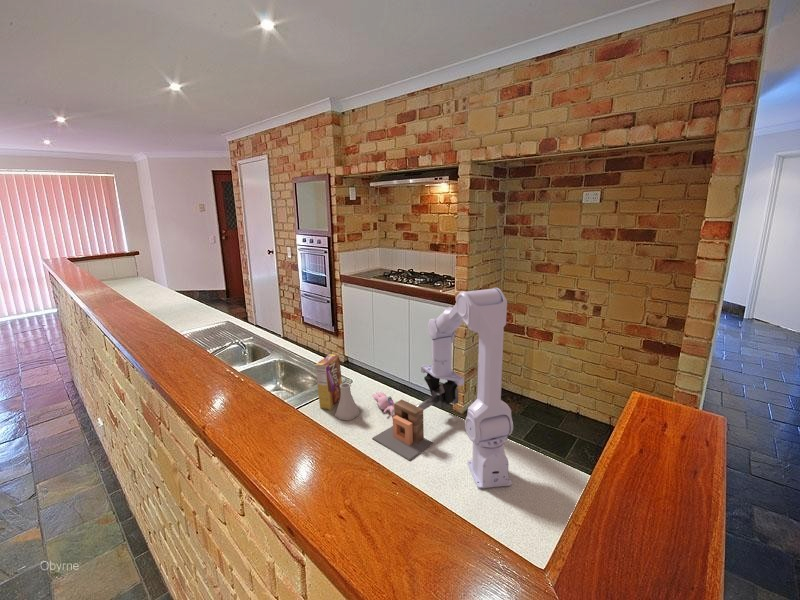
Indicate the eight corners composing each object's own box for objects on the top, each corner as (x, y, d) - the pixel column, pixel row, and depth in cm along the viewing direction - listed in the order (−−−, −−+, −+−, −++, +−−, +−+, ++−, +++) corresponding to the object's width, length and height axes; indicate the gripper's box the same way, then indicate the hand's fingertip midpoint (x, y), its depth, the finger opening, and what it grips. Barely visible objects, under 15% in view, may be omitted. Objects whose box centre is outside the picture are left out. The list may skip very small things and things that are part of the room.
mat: (409, 460, 98) (409, 459, 98) (372, 439, 108) (372, 437, 108) (433, 444, 105) (433, 442, 105) (396, 424, 115) (396, 423, 115)
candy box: (332, 395, 134) (329, 353, 130) (343, 397, 132) (340, 354, 129) (318, 408, 126) (314, 363, 122) (330, 410, 124) (326, 365, 120)
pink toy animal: (408, 419, 120) (381, 394, 131) (410, 403, 118) (382, 379, 129) (392, 427, 116) (365, 400, 127) (393, 410, 114) (366, 385, 125)
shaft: (418, 427, 105) (417, 412, 104) (399, 418, 110) (399, 403, 109) (458, 402, 117) (458, 388, 116) (440, 395, 122) (439, 381, 121)
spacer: (409, 445, 104) (408, 425, 103) (393, 436, 108) (392, 417, 107) (412, 443, 105) (412, 423, 104) (397, 434, 109) (396, 415, 108)
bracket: (416, 444, 105) (415, 413, 102) (395, 432, 110) (394, 403, 108) (423, 439, 107) (423, 409, 104) (402, 428, 112) (401, 399, 110)
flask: (330, 417, 120) (328, 387, 117) (344, 406, 126) (342, 378, 124) (350, 423, 116) (348, 392, 114) (363, 411, 123) (361, 382, 120)
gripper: (470, 360, 112) (469, 403, 115) (431, 348, 122) (431, 388, 125) (455, 367, 107) (455, 412, 110) (416, 354, 117) (417, 396, 120)
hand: (441, 400), depth 117 cm, fingers open, 5 cm apart
